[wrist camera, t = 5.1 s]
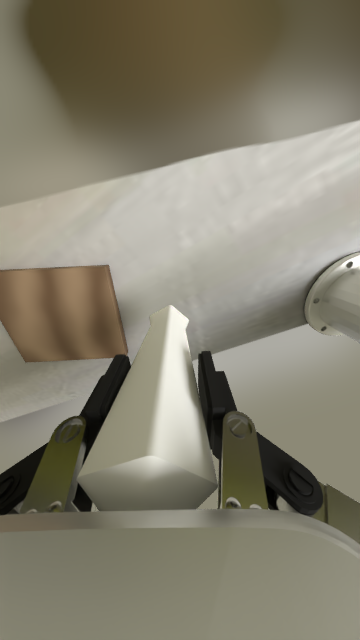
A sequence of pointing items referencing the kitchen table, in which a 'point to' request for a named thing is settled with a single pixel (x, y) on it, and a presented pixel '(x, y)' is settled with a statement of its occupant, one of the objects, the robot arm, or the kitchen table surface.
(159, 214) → the kitchen table surface
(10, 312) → the walnut board
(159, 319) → the white tall faceted piece
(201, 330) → the kitchen table surface
